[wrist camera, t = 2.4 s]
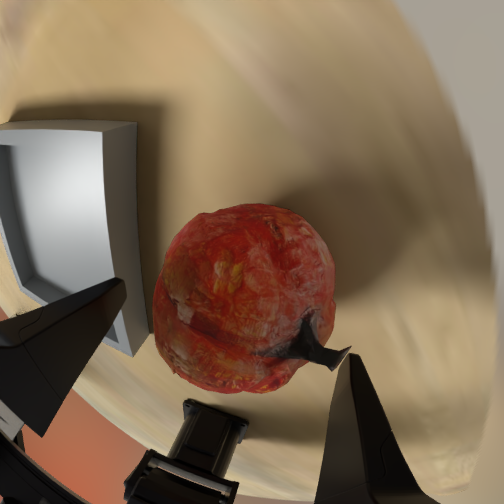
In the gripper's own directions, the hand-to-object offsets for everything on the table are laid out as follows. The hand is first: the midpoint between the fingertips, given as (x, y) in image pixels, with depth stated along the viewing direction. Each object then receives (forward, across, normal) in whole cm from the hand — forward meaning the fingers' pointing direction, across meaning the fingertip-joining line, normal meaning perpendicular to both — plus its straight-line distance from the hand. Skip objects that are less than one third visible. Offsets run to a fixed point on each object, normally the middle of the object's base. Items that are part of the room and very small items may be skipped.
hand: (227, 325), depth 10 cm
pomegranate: (+5, 0, 0) cm, 5 cm away
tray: (+5, +14, +2) cm, 15 cm away
